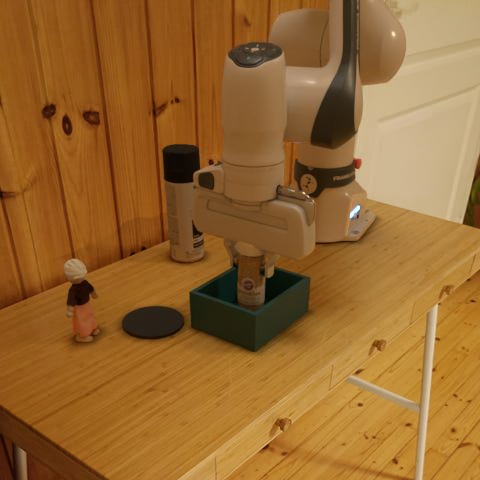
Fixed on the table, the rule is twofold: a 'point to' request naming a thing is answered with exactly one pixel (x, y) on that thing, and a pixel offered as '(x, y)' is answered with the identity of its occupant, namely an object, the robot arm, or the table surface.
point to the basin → (243, 320)
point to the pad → (153, 322)
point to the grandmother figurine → (80, 301)
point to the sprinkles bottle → (250, 277)
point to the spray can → (182, 201)
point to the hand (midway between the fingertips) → (251, 271)
